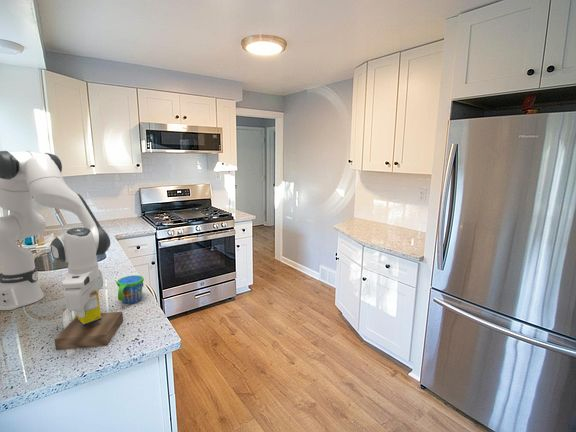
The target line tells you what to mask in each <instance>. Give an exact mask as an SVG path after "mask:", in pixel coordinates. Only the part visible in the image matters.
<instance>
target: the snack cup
mask: <svg viewBox="0 0 576 432" xmlns="http://www.w3.org/2000/svg"><path fill="white" fill-rule="evenodd" d="M116 285H117V287H118V291H117V292H118V293H117V299H118V301H119V302H123V303H125V304H133V303H134V304H135V303H137V302H140V301H141V299H142V295H143V294H142V293H143V287H144V277H143V276H141V275H139V274H137V275H136V274H135V275H134V274H133V275H127V276H124V277H121V278H118V279H117V281H116Z"/></svg>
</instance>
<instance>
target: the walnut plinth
mask: <svg viewBox="0 0 576 432" xmlns="http://www.w3.org/2000/svg"><path fill="white" fill-rule="evenodd" d="M123 322H124V316H123V311H113V312H101V320H99V321H96V322H93V323H91V324H88V325H85V326H83V325H82V324H81V323H80V322H79V321H78V315H76V316H75V317H74V318H73V319H72V320H71V321H70V322H69V323H68V324H67V325H66V326H65V327H64V329H63V330H61V332H59V334H58V335H57V336H56V337H55V338H54V346H55V350H57V351H58V350H68V349H80V348H89V347H90V348H91V347H101V346H108V345H109V343H110V342H111V341H112V339H113V337H114V336H115V334H116V333H117V331H118V330H119V329H120V326H121V325H122V324H123Z"/></svg>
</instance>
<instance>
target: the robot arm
mask: <svg viewBox="0 0 576 432" xmlns="http://www.w3.org/2000/svg"><path fill="white" fill-rule="evenodd" d="M62 172H63V164H62V161H61V159H60V158H59V156H57V155H55V154H52V153H49V152H45V153H43V152H37V151H30V150H26V151H20V150H19V151H15V150H14V151H13V150H11V151H8V150H0V208H1V209H4V210H6V211H9V215H5V216H0V268H1V269H0V270H1V273H0V311H11V310H15V309H18V308H20V307H24V306H28V305H31V304H33V303H36V302H38V301H41V300H42V299H43V298H44V297H45V293H44V292H43V290H42V288H41V286H40V283H39V275H38V270H37V267H36V264H35V260H34V253H33V252H32V250H30V249H29V248H26V247H23V246H19V245H18V243H17V241H18V240H23V239H27V238H32V237H34V236H38V235H39V234H42V233H43V232H45V230H46V228H47V221H46V219H45V217H44V216H43V215H41V214H40V213H39V212H36V210H35V209H34V207H33V200H34V201H35V202H36V203H38V204H39V205H41V206H44V207H47V208H51V209H58V210H63V211H68V212H70V213H73V214H74V215H76V216H77V218H78V219H79V221H80V222H81V224H82V226H83V227H79V226H77V227H72V228H69V229H67V230H66V231H65V233H64V234H62V235H59V236H57V237H55V238H54V239H53V240H52V241H51V242H50V253H51V256H52V258H53V259H54V260H56V261H57V262H61V263H67V264H68V265H67V271H68V272H67V273H66V276H65V278H64V279H63V281H62V282H61V288H62V289H64V293H63V294H64V295H63V296H64V302H65V307H66V309H67V311H69V312H72V311H74V312H75V311H76V313H77V312H78V315H79V317H84V316H85V315H86V310H85V311H84V309H83V308H84V305H85V304H86V303H87V302H88V301H89V300H90V294H91V293H92V292H93V291H94V290H96V291H97V292H98V294H100V293H99V292H100V290H101V289H102V288H103V287H104V278H103V274H102V271H101V270H100V269H99V263H98V260H97V257H96V256H101V255H104V254H105V253H106V252H107V251H108V250H109V249H110V247H111V239H110V237H109V235H108V233H107V232H106V230H104V229H103V227H102V226H101V225H100V222H99V221H98V220H97V218H96V216H95V215H94V212H93V211H92V210H91V207H89V205H88V203H87V202H86V200H85V199H84V198H83V196H81V194H80V193H77V192H75V191H73V190H72V189H71V188H70V187H69V186H68V184H67V182H66V181H65V179H64V176H63V174H62Z"/></svg>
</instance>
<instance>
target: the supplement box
mask: <svg viewBox="0 0 576 432" xmlns="http://www.w3.org/2000/svg"><path fill="white" fill-rule="evenodd" d="M100 306H101V304H100V295H99V293H98V292H97V291H96V290H94V291H93V292H92V293H91V294H90V300H89V301H88V302H87V303H86V304H85V305H84V308H83V309H84V311H85V310H86V315H85V316H84V317H79V315H78V312H77V311H76V314H77V315H78V321H79V322H80V323H81V324H82V325H83V326H85V325H88V324H91V323H93V322H96V321H99V320H101V313H102V312H101V307H100ZM77 315H76V316H77Z"/></svg>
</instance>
